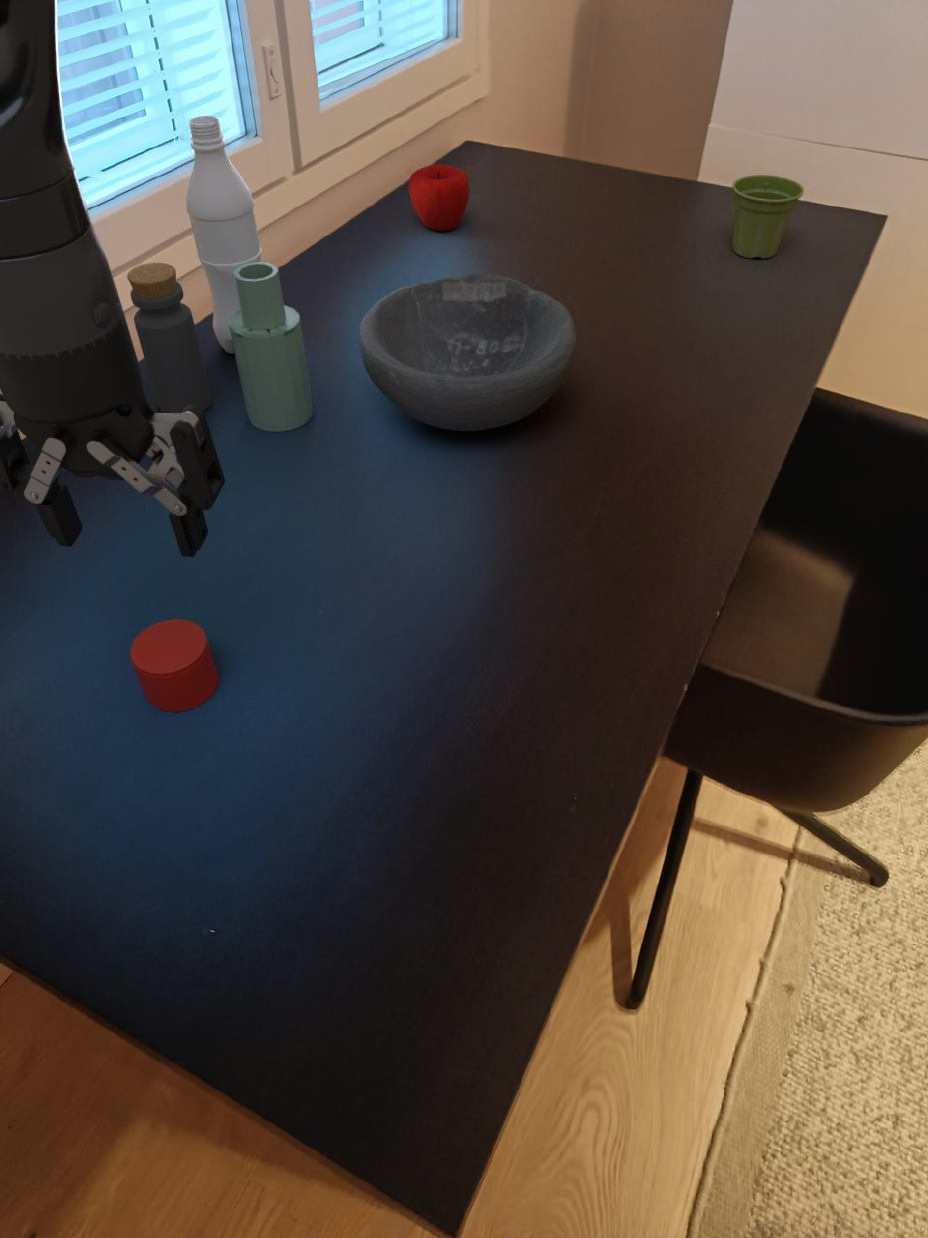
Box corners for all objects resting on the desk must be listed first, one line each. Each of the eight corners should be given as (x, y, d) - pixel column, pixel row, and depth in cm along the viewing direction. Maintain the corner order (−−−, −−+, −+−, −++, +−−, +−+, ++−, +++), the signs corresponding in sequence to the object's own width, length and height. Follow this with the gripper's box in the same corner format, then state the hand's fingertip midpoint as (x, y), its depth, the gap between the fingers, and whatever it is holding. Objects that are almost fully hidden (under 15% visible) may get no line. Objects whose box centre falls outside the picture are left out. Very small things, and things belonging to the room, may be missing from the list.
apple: (406, 216, 136) (403, 161, 130) (463, 212, 137) (463, 157, 131) (415, 240, 130) (412, 184, 124) (474, 235, 131) (474, 179, 125)
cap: (131, 688, 71) (115, 650, 67) (186, 647, 74) (173, 608, 71) (177, 723, 68) (162, 685, 65) (232, 679, 71) (221, 640, 68)
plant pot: (706, 250, 127) (718, 186, 121) (745, 231, 131) (759, 168, 125) (762, 271, 122) (777, 205, 116) (801, 251, 126) (818, 187, 120)
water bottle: (207, 355, 107) (153, 127, 89) (236, 328, 112) (191, 106, 94) (261, 365, 105) (217, 134, 88) (288, 336, 110) (252, 112, 92)
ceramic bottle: (235, 417, 98) (204, 274, 86) (281, 390, 102) (257, 249, 90) (280, 439, 95) (253, 294, 83) (326, 410, 99) (307, 268, 87)
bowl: (322, 403, 99) (310, 319, 92) (464, 332, 111) (464, 252, 103) (469, 492, 88) (469, 403, 81) (612, 403, 99) (623, 318, 92)
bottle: (186, 423, 97) (151, 290, 86) (147, 408, 99) (108, 276, 88) (223, 398, 100) (193, 267, 90) (185, 384, 103) (151, 254, 92)
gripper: (200, 290, 50) (251, 517, 62) (-38, 277, 52) (56, 500, 63) (148, 358, 45) (215, 592, 56) (-114, 341, 46) (4, 572, 58)
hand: (131, 543), depth 60 cm, fingers open, 8 cm apart
